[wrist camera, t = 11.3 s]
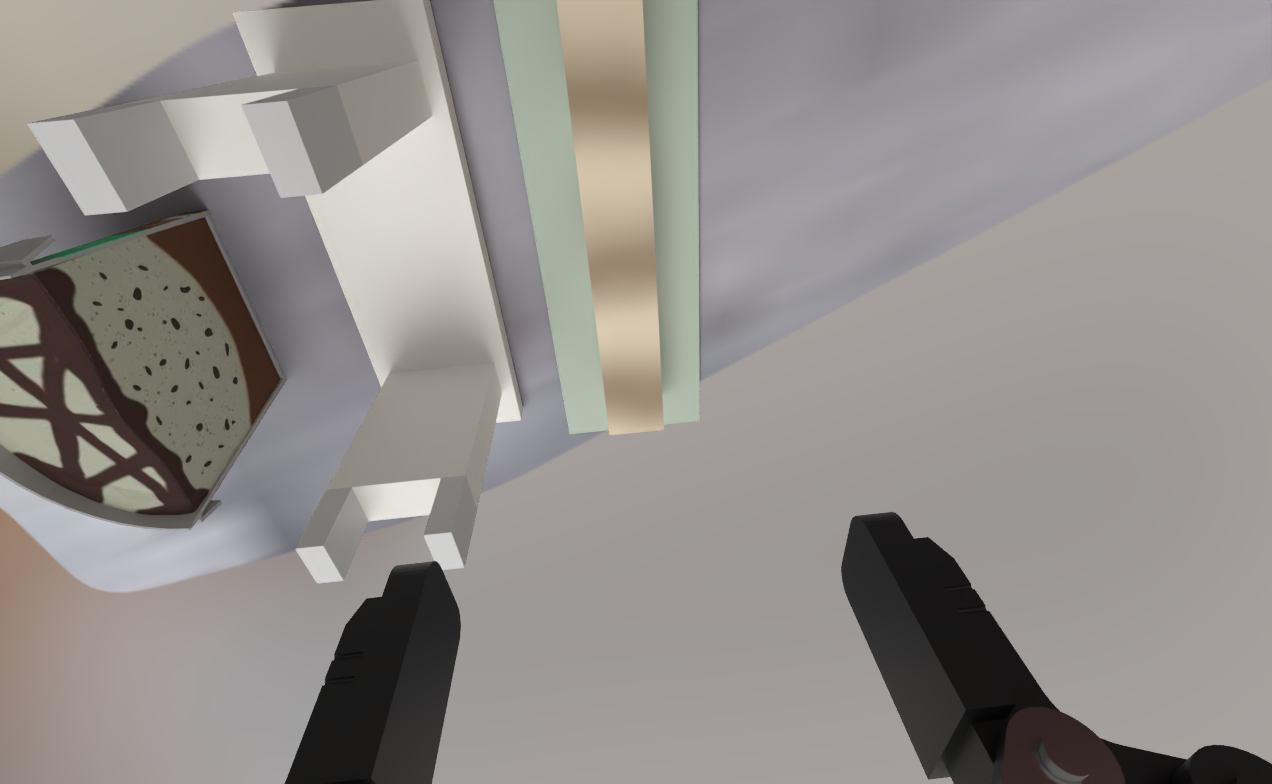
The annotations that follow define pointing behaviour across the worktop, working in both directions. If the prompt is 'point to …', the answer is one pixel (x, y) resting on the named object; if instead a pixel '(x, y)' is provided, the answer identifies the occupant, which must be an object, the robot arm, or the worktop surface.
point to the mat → (557, 202)
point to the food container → (130, 372)
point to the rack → (347, 239)
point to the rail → (616, 200)
